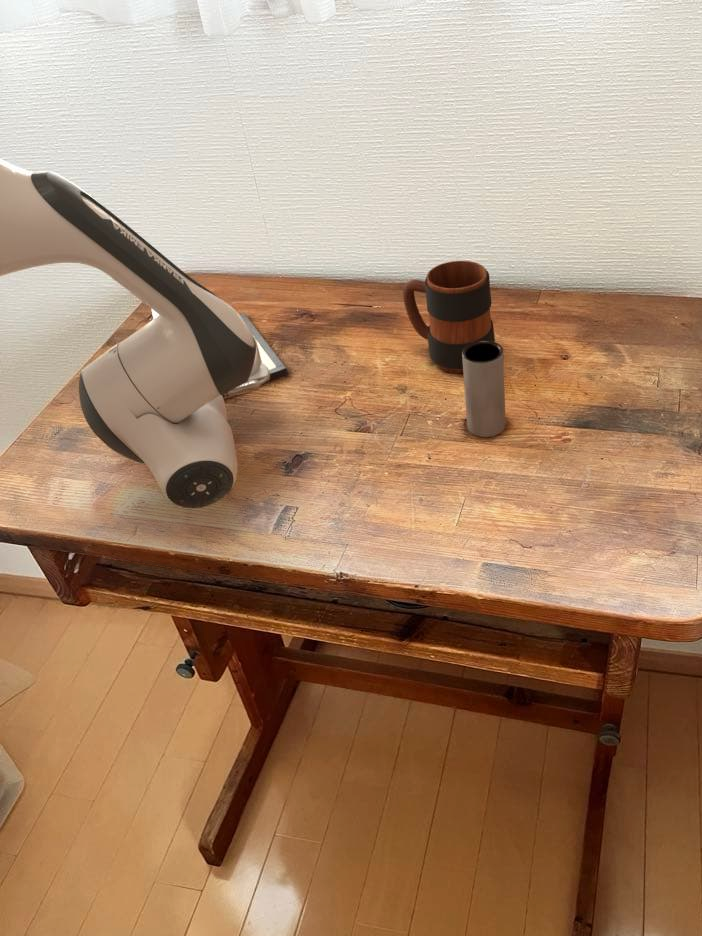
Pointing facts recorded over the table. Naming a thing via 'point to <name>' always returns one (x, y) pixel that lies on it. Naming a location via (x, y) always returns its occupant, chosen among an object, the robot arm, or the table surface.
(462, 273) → the mug
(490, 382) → the planter
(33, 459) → the table surface
